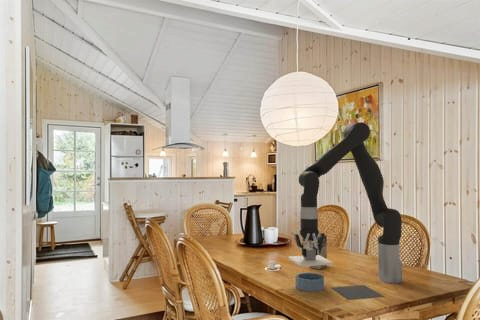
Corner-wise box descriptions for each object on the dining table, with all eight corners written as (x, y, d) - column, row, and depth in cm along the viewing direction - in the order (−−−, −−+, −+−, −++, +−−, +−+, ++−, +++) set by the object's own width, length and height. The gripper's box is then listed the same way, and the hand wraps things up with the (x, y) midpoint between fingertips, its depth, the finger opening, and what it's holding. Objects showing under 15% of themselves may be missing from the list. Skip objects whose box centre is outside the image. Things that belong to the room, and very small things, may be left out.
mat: (364, 286, 165) (364, 284, 165) (385, 298, 149) (385, 296, 149) (330, 288, 161) (330, 287, 161) (348, 301, 146) (348, 299, 146)
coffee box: (320, 269, 193) (319, 238, 193) (309, 267, 197) (308, 237, 197) (327, 265, 200) (326, 235, 201) (316, 264, 204) (315, 234, 205)
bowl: (317, 283, 170) (317, 271, 170) (328, 291, 158) (328, 279, 158) (292, 284, 167) (292, 273, 168) (301, 293, 156) (301, 281, 156)
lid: (318, 256, 172) (318, 245, 172) (333, 264, 157) (333, 251, 157) (287, 258, 169) (287, 246, 169) (299, 266, 154) (299, 253, 154)
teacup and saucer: (280, 267, 199) (280, 259, 200) (282, 271, 191) (282, 263, 192) (263, 267, 199) (263, 260, 199) (265, 271, 191) (265, 263, 191)
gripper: (320, 215, 169) (321, 254, 168) (290, 216, 166) (291, 255, 165) (327, 217, 161) (328, 257, 161) (296, 218, 159) (297, 259, 158)
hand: (309, 256), depth 163 cm, fingers closed on lid, 4 cm apart
